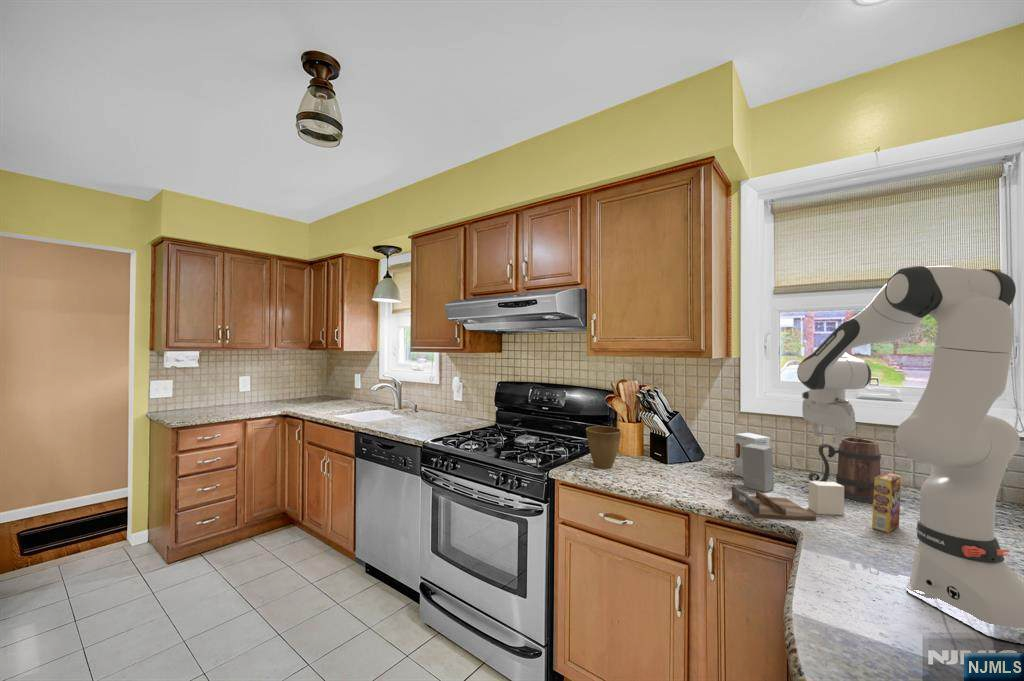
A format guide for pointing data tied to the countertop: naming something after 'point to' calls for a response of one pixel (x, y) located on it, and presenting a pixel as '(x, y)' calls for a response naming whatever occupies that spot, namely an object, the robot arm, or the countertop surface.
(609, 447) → the plant pot
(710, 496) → the countertop surface
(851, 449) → the tankard
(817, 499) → the cream carton
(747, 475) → the skincare box
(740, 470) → the supplement box
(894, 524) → the candy box
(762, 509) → the shelf board
